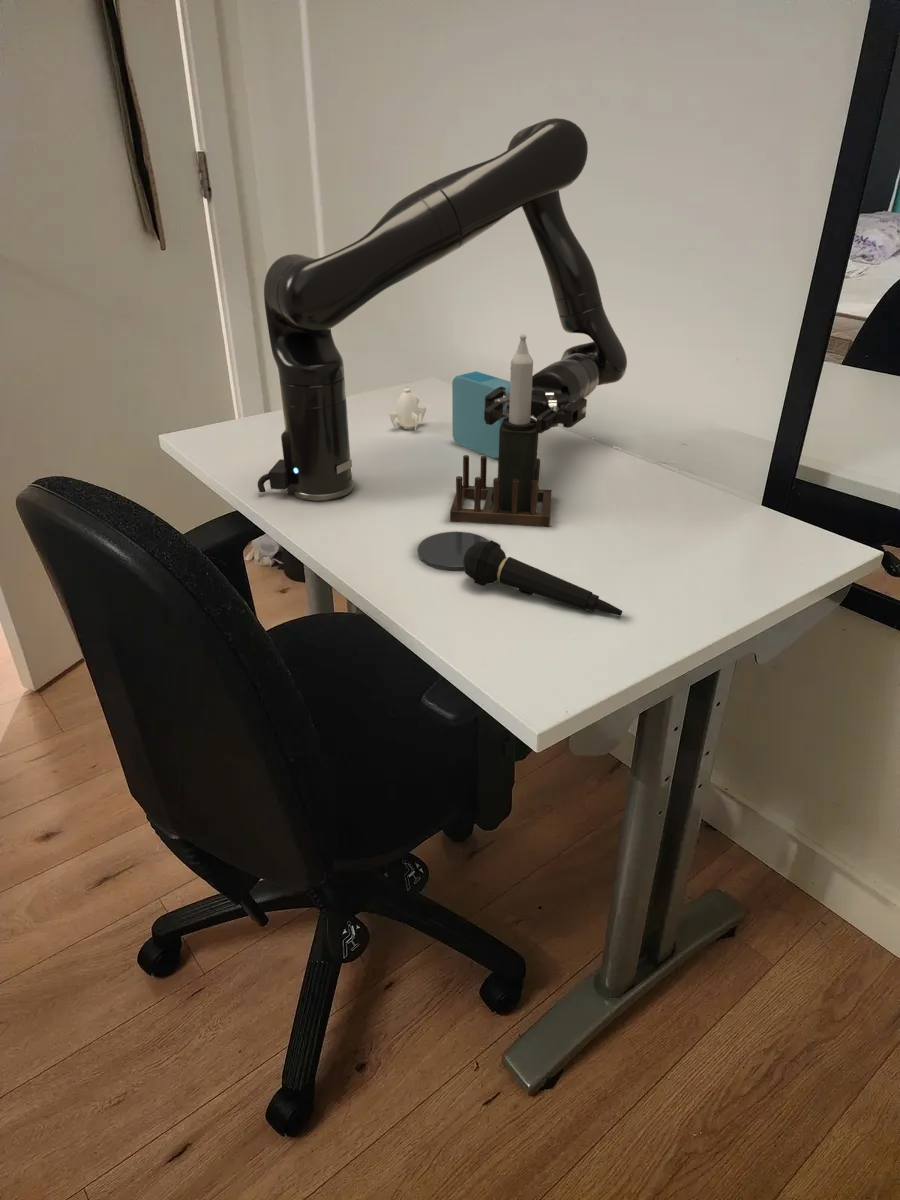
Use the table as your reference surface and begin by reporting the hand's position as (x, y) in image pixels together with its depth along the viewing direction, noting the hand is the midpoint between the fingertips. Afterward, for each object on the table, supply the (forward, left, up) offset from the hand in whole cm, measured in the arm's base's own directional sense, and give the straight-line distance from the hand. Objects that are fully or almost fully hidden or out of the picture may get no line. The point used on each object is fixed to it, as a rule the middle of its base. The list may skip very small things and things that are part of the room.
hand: (513, 421), depth 107 cm
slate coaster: (-6, -12, -14) cm, 19 cm away
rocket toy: (-21, +36, -14) cm, 44 cm away
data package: (-6, +27, -14) cm, 31 cm away
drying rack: (-1, +2, -14) cm, 14 cm away
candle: (+1, +2, -14) cm, 14 cm away
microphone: (+5, -23, -14) cm, 27 cm away
